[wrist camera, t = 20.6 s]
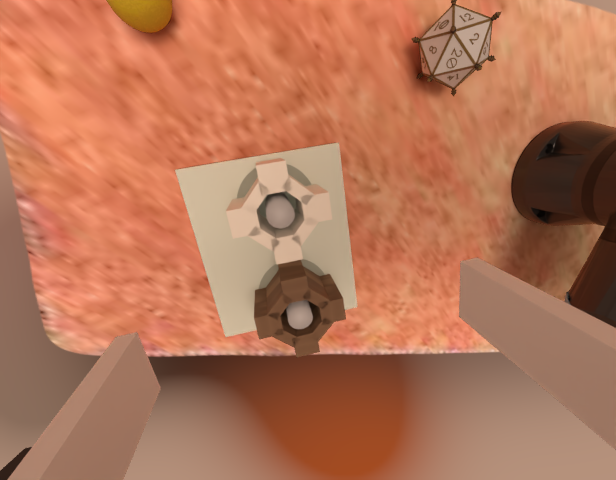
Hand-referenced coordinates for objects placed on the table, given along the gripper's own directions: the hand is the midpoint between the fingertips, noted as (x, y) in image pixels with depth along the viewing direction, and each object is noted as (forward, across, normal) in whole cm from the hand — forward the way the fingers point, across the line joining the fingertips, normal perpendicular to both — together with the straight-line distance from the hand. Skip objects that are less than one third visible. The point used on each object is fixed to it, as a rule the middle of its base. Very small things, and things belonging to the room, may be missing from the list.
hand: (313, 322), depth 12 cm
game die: (+29, -23, -14) cm, 39 cm away
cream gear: (+27, 0, 0) cm, 27 cm away
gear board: (+29, +1, +6) cm, 29 cm away
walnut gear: (+27, 0, +13) cm, 30 cm away
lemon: (+29, +9, -22) cm, 37 cm away
